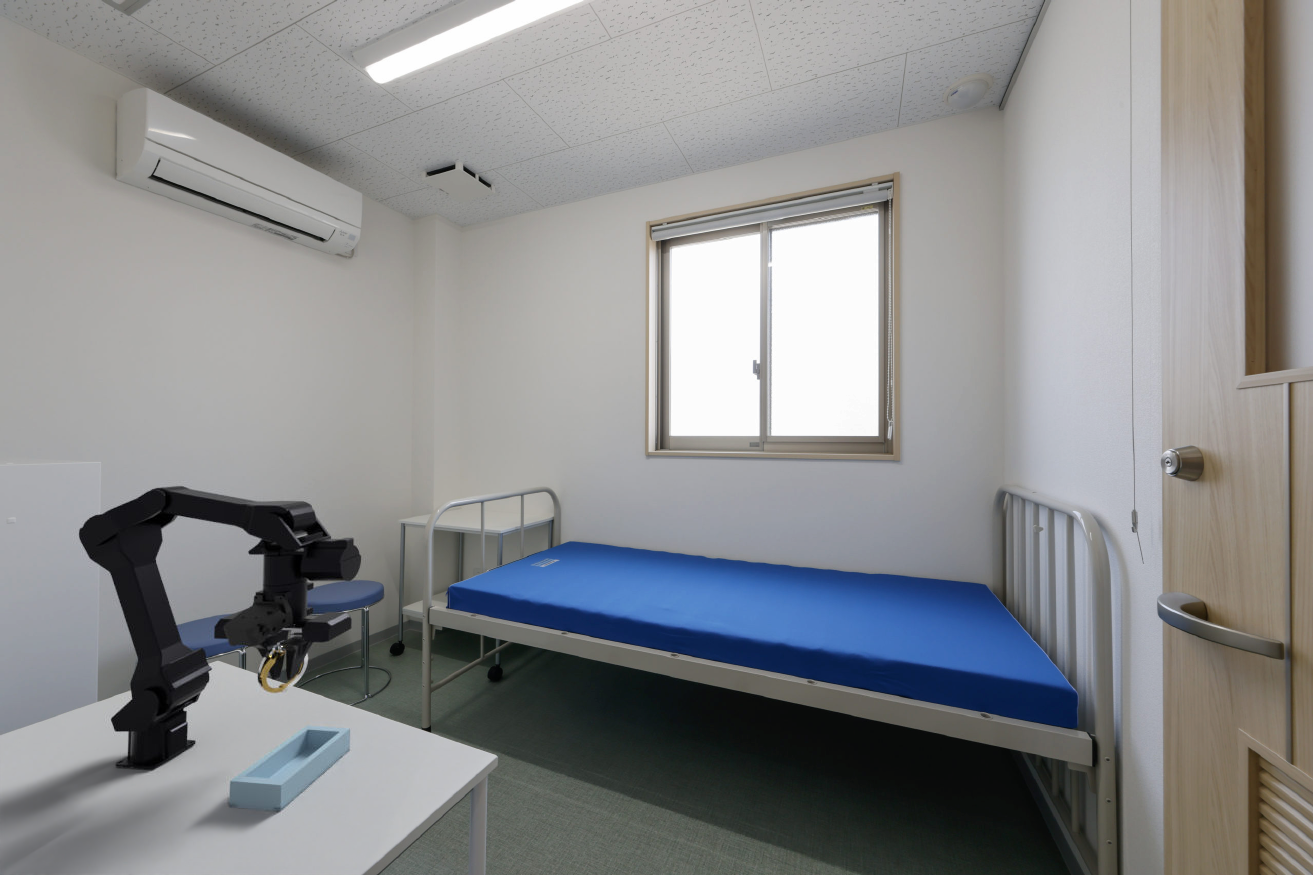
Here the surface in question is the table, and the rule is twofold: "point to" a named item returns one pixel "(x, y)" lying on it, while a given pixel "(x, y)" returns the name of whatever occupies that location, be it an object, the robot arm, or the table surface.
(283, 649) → the ring
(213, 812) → the table surface
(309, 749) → the box
